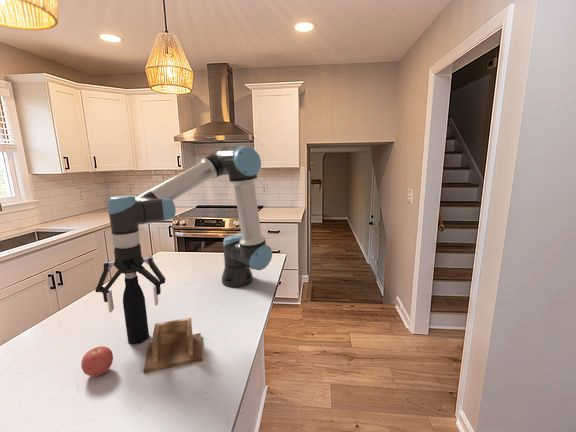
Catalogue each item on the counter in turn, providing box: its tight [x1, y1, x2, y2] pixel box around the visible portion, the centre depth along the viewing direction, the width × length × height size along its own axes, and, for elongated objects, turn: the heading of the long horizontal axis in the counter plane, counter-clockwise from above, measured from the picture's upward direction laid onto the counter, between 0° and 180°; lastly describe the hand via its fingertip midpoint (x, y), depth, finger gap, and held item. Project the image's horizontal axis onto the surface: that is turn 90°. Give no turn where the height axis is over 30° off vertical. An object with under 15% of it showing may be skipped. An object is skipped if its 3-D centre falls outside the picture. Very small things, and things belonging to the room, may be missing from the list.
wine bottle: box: [122, 259, 150, 345], centre depth 95 cm, size 6×6×30 cm
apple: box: [80, 345, 114, 377], centre depth 82 cm, size 7×7×8 cm
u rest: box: [142, 317, 203, 374], centre depth 90 cm, size 16×13×8 cm
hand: (134, 306), depth 96 cm, fingers open, 13 cm apart
